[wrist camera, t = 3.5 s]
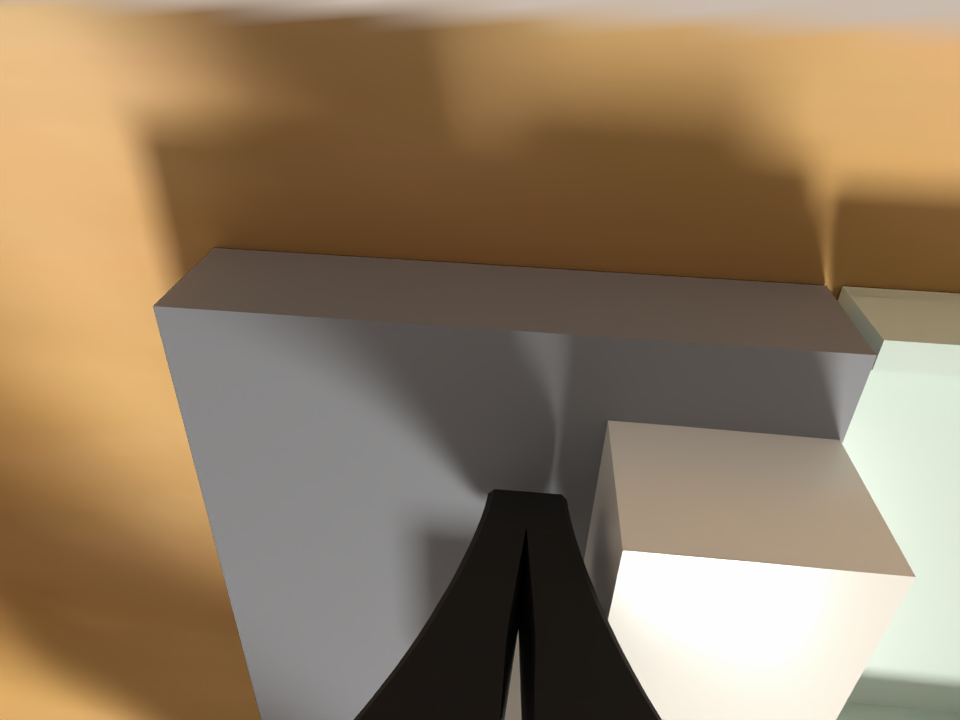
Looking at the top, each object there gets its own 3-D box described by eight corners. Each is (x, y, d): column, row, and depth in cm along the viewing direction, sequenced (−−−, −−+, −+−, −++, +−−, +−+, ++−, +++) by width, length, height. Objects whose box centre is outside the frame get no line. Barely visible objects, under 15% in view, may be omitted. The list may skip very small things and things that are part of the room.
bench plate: (292, 646, 21) (263, 727, 19) (214, 247, 14) (153, 306, 12) (695, 687, 20) (711, 776, 18) (826, 285, 13) (877, 354, 11)
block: (581, 573, 14) (587, 712, 12) (607, 420, 12) (622, 550, 10) (777, 591, 14) (826, 736, 12) (839, 438, 12) (915, 577, 10)
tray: (705, 688, 20) (719, 757, 18) (842, 286, 13) (883, 340, 11) (993, 717, 20) (1034, 791, 18) (1295, 314, 13) (1408, 375, 11)
